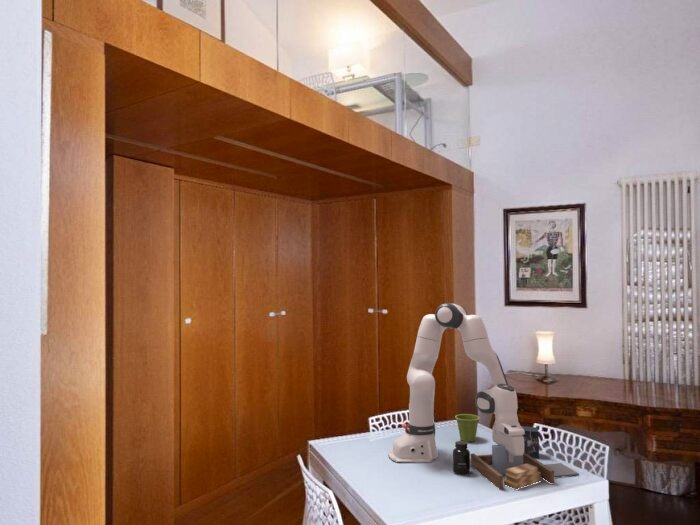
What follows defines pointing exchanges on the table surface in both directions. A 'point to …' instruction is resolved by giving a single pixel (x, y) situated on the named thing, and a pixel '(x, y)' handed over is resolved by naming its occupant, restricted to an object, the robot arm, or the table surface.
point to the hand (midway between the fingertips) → (507, 459)
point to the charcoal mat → (561, 470)
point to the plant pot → (467, 426)
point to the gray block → (503, 459)
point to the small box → (531, 441)
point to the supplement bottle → (461, 458)
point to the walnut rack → (496, 478)
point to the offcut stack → (522, 476)
